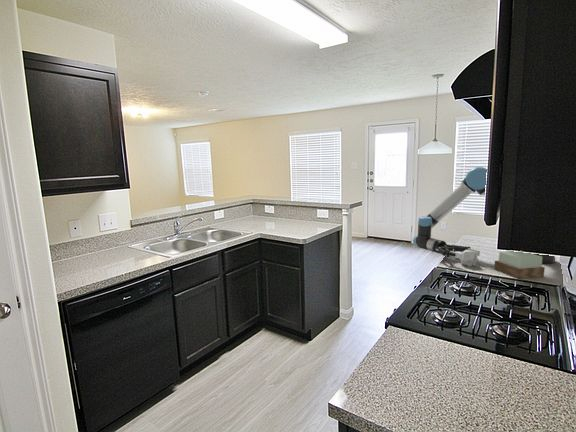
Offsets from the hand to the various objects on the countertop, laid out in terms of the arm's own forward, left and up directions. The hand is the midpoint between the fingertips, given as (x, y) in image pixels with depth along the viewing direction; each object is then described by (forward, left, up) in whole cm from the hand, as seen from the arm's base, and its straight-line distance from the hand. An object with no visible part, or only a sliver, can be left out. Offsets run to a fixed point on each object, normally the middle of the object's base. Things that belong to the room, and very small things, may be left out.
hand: (470, 254), depth 169 cm
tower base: (-15, +15, -6) cm, 22 cm away
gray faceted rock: (0, -1, -6) cm, 6 cm away
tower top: (-15, +15, -1) cm, 21 cm away
